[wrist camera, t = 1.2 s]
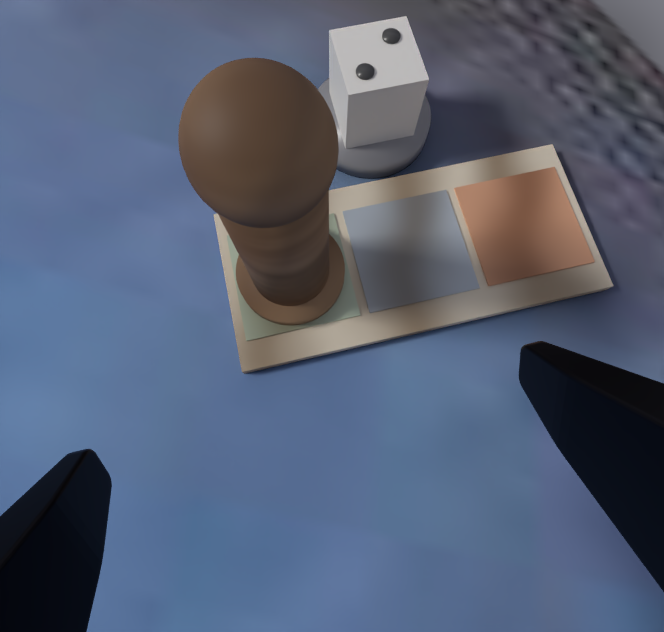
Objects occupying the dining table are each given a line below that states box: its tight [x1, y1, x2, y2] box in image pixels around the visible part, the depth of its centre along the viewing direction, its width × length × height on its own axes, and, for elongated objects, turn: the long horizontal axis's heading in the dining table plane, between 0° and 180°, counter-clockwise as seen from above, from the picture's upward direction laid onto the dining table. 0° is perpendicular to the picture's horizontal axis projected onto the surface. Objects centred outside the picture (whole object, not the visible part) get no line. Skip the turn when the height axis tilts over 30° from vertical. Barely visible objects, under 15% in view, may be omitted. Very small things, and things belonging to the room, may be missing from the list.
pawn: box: [179, 58, 345, 325], centre depth 17 cm, size 6×6×13 cm
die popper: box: [318, 16, 431, 178], centre depth 23 cm, size 7×7×5 cm
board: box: [214, 144, 613, 374], centre depth 23 cm, size 20×9×1 cm, turn 103°
